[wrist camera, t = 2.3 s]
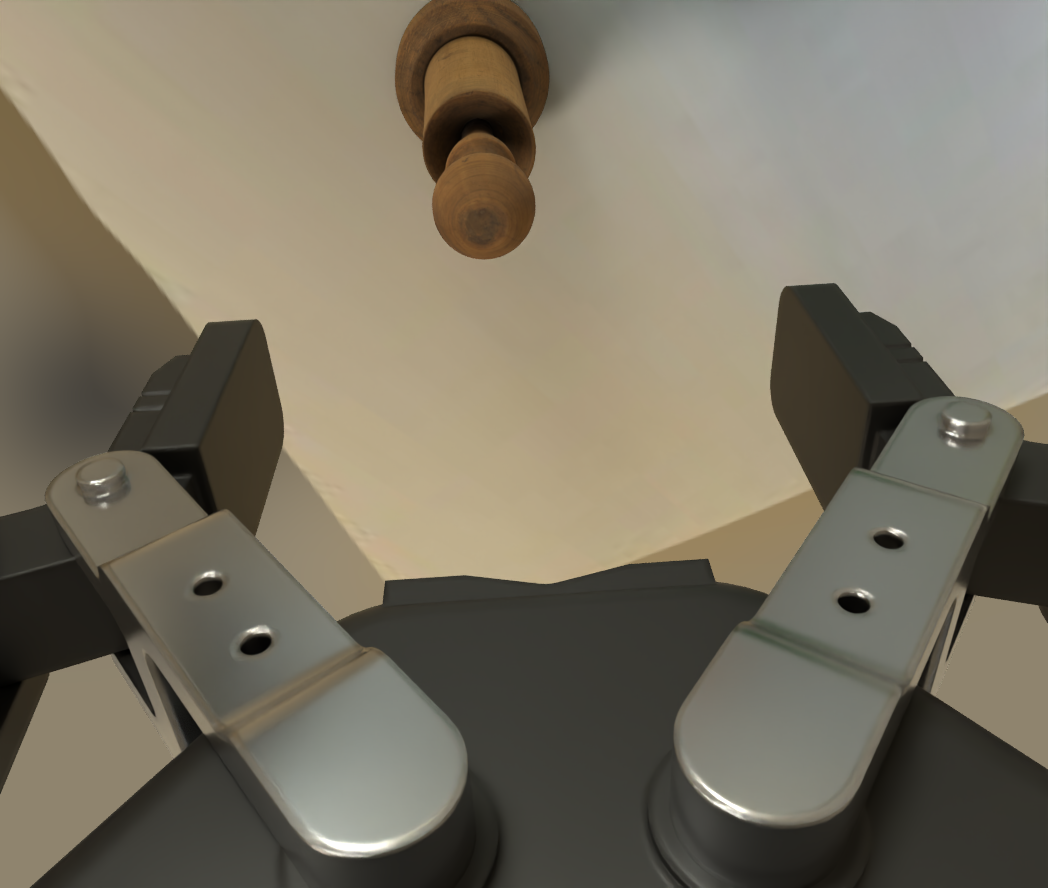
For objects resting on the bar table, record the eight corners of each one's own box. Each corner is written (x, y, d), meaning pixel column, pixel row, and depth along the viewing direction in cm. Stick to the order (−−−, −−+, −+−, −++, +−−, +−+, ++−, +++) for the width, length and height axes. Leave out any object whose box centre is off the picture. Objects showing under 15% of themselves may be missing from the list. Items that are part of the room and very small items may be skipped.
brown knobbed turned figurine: (502, 169, 43) (530, 361, 29) (372, 105, 41) (331, 276, 27) (571, 34, 40) (644, 171, 26) (435, -43, 38) (429, 58, 24)
